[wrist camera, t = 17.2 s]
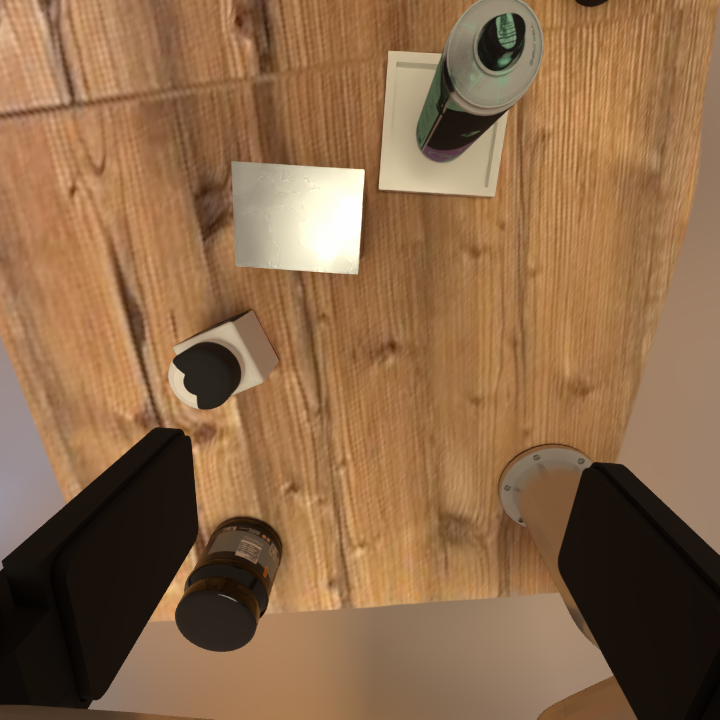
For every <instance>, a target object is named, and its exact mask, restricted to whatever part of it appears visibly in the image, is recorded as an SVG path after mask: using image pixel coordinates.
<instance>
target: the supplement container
mask: <svg viewBox="0 0 720 720" xmlns="http://www.w3.org/2000/svg"><path fill="white" fill-rule="evenodd" d="M281 557H282V549H281V544H280V541H279V539H278V537H277V536H276V535H275V533H274V532H273V531H272V530H271V529H270V528H268V527H267V526H266V525H264V524H262V523H260V522H258V521H255V520H250V519H235V520H231V521H228V522H226V523H224V524H222V525H221V526H219V527H218V528H217V529H216V530H215V531H214V533H213V534H212V536H211V537H210V540H209V542H208V544H207V546H206V548H205V550H204V551H203V553H202V555H201V557H200V559H199V561H198V562H197V564H196V566H195V568H194V570H193V571H192V572H191V573H190V575H189V576H188V578H187V581H186V583H185V588H184V594H183V596H182V598H181V600H180V602H179V604H178V606H177V608H176V612H175V620H176V624H177V626H178V629H179V630H180V632H181V633H182V634H183V636H184V637H185V638H186V639H187V640H189V641H190V642H191V643H193V644H195V645H197V646H198V647H201V648H203V649H206V650H210V651H216V652H226V651H233V650H236V649H239V648H241V647H243V646H245V645H246V644H247V643H248V642H249V641H250V640H251V639H252V638H253V636H254V634H255V631H256V628H257V625H258V622H259V619H260V618H261V617H262V616H263V614H264V613H265V611H266V609H267V606H268V603H269V596H270V593H271V589H272V586H273V583H274V579H275V576H276V573H277V569H278V567H279V564H280V561H281Z"/></svg>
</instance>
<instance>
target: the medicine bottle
mask: <svg viewBox="0 0 720 720" xmlns="http://www.w3.org/2000/svg"><path fill="white" fill-rule="evenodd" d="M173 349H174V352H175V353H176V355H177V356H176V357H175V358H174V359H173V361H172V362H171V364H170V367H169V372H168V378H169V383H170V386H171V388H172V390H173V392H174V393H175V395H176V396H177V397H178V398H179V399H180V400H181V401H182V402H184V403H185V404H187V405H189V406H191V407H193V408H197V409H204V410H205V409H213V408H216V407H218V406H220V405H222V404H223V403H224V402H225V401H226V400H227V399H228V398H229V397H230V396H232V395H234V394H237V393H239V392H242V391H244V390H247V389H249V388H251V387H254V386H256V385H259V384H261V383H263V382H264V381H265V379H266V378H267V377H268V375H269V374H270V373H271V372H272V370H273V369H274V368H275V366H276V365H277V364H278V362H279V360H278V358H277V356H276V354H275V352H274V350H273V348H272V346H271V344H270V342H269V340H268V338H267V336H266V335H265V333H264V331H263V329H262V327H261V325H260V323H259V321H258V319H257V317H256V315H255V313H254V311H253V310H248V311H245V312H243V313H241V314H239V315H236V316H234V317H232V318H230V319H227V320H225V321H223V322H221V323H218V324H216V325H214V326H212V327H209V328H207V329H205V330H203V331H201V332H199V333H197V334H195V335H193V336H192V337H190V338H188V339H186V340H184V341H183V342H181V343H179V344H177V345H175V346H174V348H173Z"/></svg>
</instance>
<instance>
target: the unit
mask: <svg viewBox="0 0 720 720" xmlns="http://www.w3.org/2000/svg"><path fill="white" fill-rule="evenodd" d="M364 177H365V170H360V169H344V168H329V167H313V166H297V165H281V164H266V163H250V162H234V161H232V188H233V215H234V243H235V266H242V267H257V268H271V269H285V270H300V271H314V272H328V273H343V274H357V275H358V274H359V261H360V260H361V258H362V257H363V248H364V233H365V217H366V202H367V197H366V194H365V190H364Z"/></svg>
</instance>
